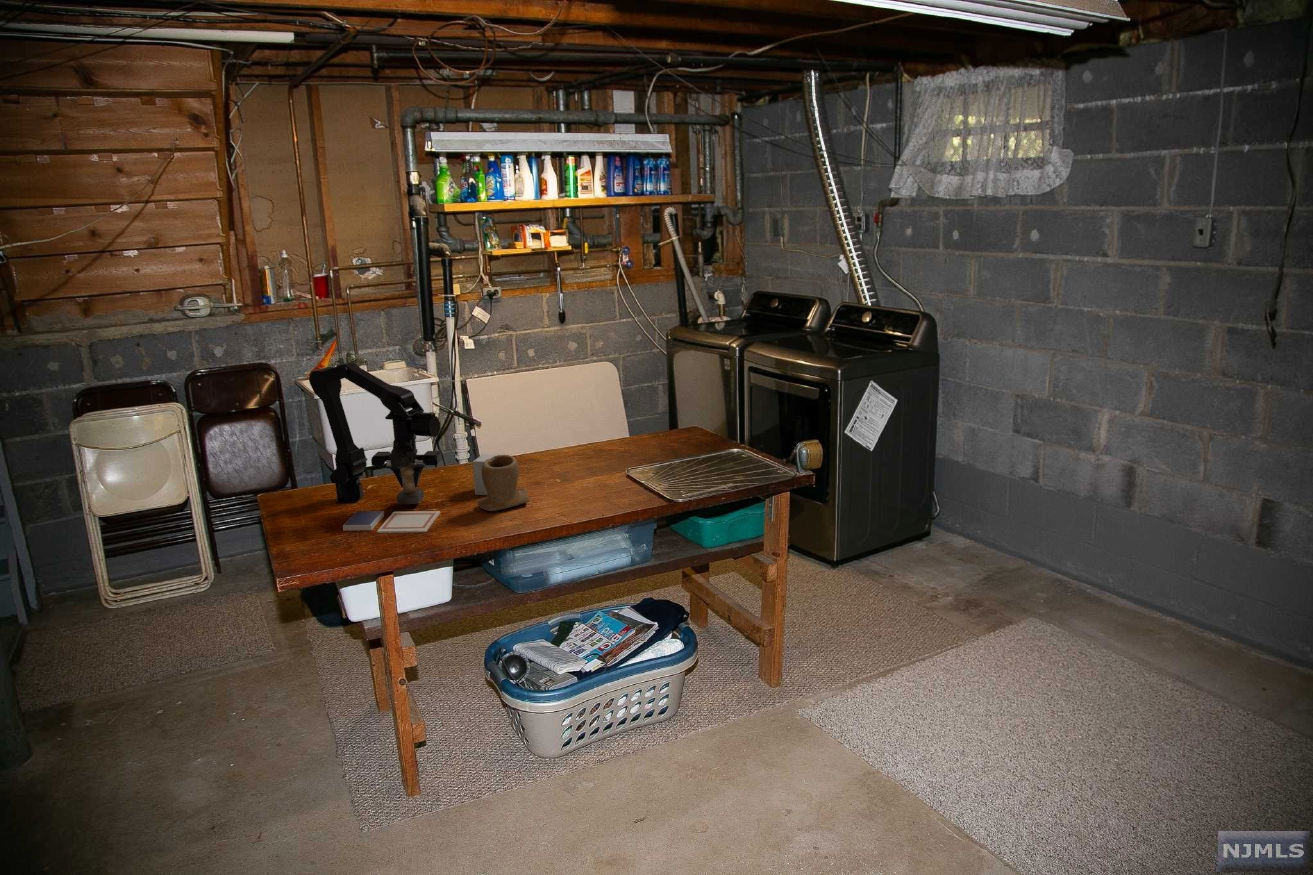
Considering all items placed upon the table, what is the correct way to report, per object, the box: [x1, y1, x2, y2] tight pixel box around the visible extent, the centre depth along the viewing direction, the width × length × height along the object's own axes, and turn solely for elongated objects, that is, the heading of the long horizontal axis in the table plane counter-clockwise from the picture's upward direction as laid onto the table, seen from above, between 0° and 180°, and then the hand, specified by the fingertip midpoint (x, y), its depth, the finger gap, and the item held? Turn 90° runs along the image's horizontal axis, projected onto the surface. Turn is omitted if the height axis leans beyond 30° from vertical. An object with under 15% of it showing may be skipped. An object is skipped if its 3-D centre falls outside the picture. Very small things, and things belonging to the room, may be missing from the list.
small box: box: [472, 453, 498, 496], centre depth 271 cm, size 8×6×10 cm
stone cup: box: [477, 454, 531, 512], centre depth 257 cm, size 15×12×15 cm
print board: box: [376, 510, 441, 534], centre depth 248 cm, size 13×15×1 cm
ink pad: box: [342, 510, 385, 532], centre depth 248 cm, size 8×11×2 cm
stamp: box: [396, 461, 425, 505], centre depth 260 cm, size 6×6×12 cm
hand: (409, 487), depth 260 cm, fingers closed on stamp, 4 cm apart
